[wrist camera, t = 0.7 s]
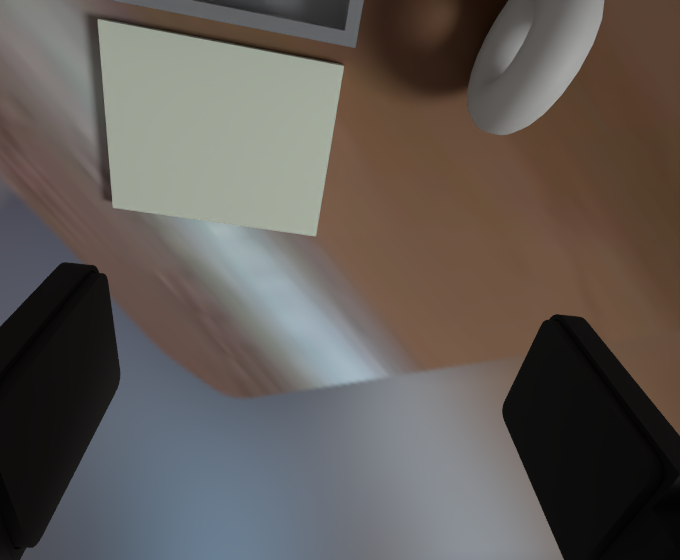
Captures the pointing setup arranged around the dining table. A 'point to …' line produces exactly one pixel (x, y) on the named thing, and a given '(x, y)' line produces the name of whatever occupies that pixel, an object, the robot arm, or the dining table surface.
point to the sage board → (216, 128)
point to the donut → (529, 60)
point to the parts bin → (276, 16)
